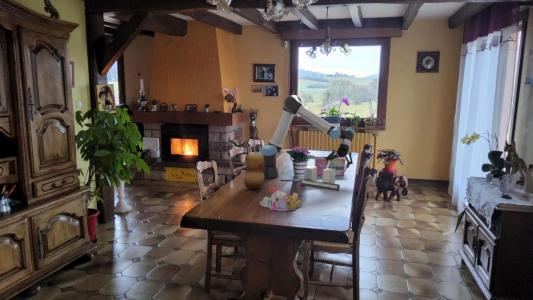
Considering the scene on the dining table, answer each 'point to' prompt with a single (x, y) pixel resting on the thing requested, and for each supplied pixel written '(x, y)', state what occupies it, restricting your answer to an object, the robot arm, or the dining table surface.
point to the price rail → (320, 184)
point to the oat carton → (310, 173)
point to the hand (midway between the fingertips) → (335, 169)
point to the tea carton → (329, 175)
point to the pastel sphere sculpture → (281, 201)
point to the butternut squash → (254, 170)
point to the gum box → (335, 164)
